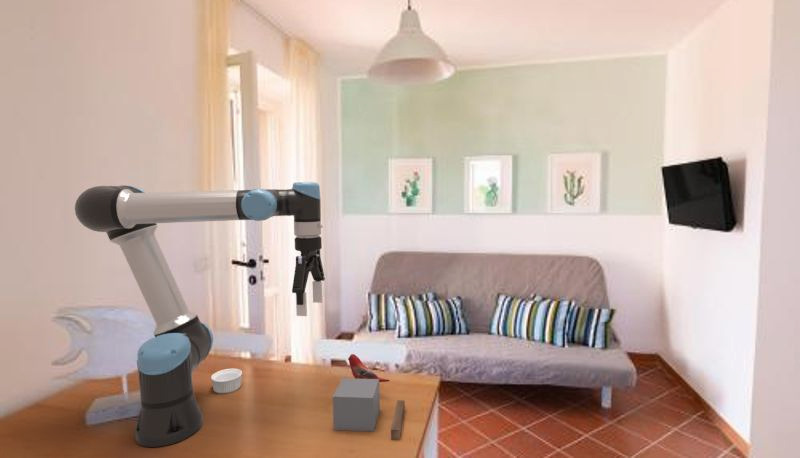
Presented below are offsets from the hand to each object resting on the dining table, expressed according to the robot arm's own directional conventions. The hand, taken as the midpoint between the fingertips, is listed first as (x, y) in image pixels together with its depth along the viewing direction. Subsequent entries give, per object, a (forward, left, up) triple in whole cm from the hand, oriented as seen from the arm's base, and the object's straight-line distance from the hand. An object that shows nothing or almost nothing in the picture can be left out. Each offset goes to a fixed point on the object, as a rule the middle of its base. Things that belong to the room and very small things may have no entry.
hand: (310, 308), depth 122 cm
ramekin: (-28, +2, -26) cm, 39 cm away
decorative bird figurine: (+16, +2, -26) cm, 31 cm away
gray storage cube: (+16, -13, -26) cm, 33 cm away
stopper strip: (+27, -14, -26) cm, 40 cm away
